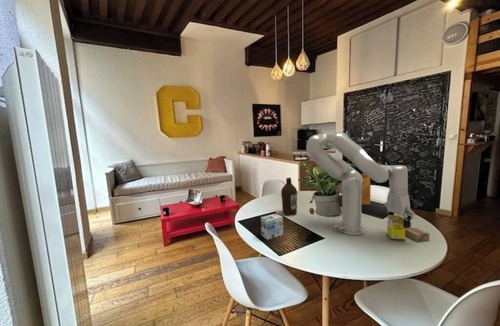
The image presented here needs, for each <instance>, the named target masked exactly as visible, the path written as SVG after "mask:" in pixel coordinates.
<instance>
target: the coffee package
mask: <svg viewBox="0 0 500 326" xmlns="http://www.w3.org/2000/svg"><path fill="white" fill-rule="evenodd" d="M361 176H362V178H363V183H362V190H361V206H363V205H364V206H365V205H371V189H372V188H371V178H370V177H368V176H367V175H366V174H365V173H364V174H361Z"/></svg>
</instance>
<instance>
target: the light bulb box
mask: <svg viewBox="0 0 500 326" xmlns="http://www.w3.org/2000/svg"><path fill="white" fill-rule="evenodd" d="M260 227H261V228H260V231H261V236H262V237H263V238H264V239H266V241H270V240H273V239H275V237H276V238H279V237H278V236H280V237H283V236H284V217H283V216H282V215H280V214H278V213H273V214H269V215H264V216H260ZM282 235H283V236H282ZM272 238H273V239H272ZM269 239H270V240H269Z"/></svg>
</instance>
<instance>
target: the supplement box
mask: <svg viewBox="0 0 500 326" xmlns="http://www.w3.org/2000/svg"><path fill="white" fill-rule="evenodd" d="M403 220H405V219H404V218H403V216H401V215H398V214H394V215H388V214H387V233H386V235H387V236H388V237H389V239H390V240H391V241H405V240H406V239H405V238H406V236H405V228H404V227H403Z"/></svg>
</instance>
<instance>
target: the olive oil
mask: <svg viewBox="0 0 500 326" xmlns="http://www.w3.org/2000/svg"><path fill="white" fill-rule="evenodd" d="M285 179H286V180H285V185H284V186H283V187H282V188H281V191H280V192H281V193H280V195H281V204H282V205H281V206H282V215H284V214H285V215H284V216H286V215H294V216H296V215H297V214H298V212H297V211H298V204H297V203H298V190H297V187H296V186H294V184H293V183H292V178H291V177H286V178H285ZM295 214H296V215H295Z"/></svg>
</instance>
